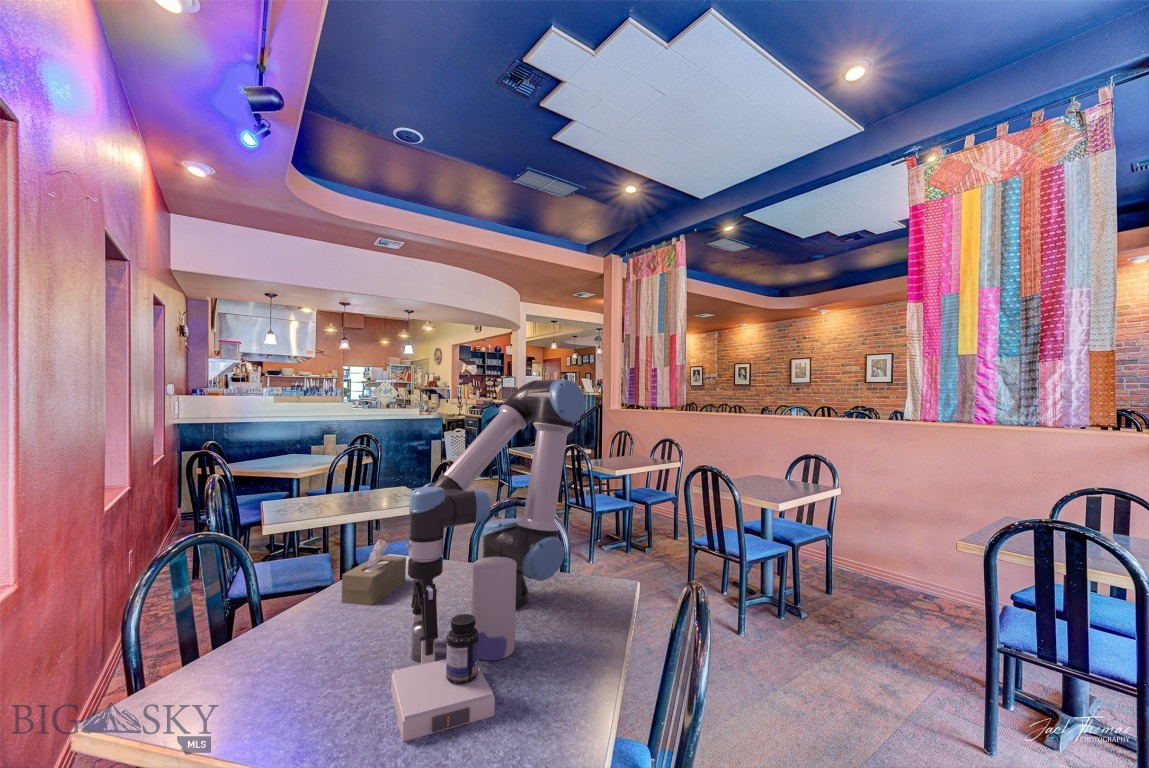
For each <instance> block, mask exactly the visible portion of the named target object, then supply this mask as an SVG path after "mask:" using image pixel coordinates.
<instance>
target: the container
mask: <svg viewBox="0 0 1149 768" xmlns="http://www.w3.org/2000/svg"><path fill="white" fill-rule="evenodd" d="M516 565H517V563H516V561H515V560H513V559H511V558H506V557H487V558H483V557H482V558H479V559H477V560H475V561H474V562H473V564H472V595H471V596H472V598H471V600H472V601H471V615H473V616H474V617H475V621H476V623H475V626H474V628H476V629H477V631H478V633H479V652H478V660H482V661H487V662H488V661H499V660H503V659H505V658H507V657H509V656H511V655H512V654H513V653H514V651H515V644H516V643H515V641H516V639H515V638H516V609H515V608H516Z"/></svg>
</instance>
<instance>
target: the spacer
mask: <svg viewBox="0 0 1149 768" xmlns="http://www.w3.org/2000/svg"><path fill="white" fill-rule="evenodd" d="M411 627H412V628H411V633H412V634H411V660H412V662H416V663H421V649H422V641H420V637H423V626H422V620H420V621H417V622H415V623H414V624H413V623H412V626H411Z"/></svg>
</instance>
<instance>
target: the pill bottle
mask: <svg viewBox="0 0 1149 768" xmlns="http://www.w3.org/2000/svg"><path fill="white" fill-rule="evenodd" d="M475 623H476V621H475V617H474V616H473V615H472V614H470V613H461V614H457V615H455V616H453V617H452V618H451V620H450V628H451V630H450V631H448V634H447V636H446V658H445V659H447V660H446V678H447V680H448V681H449V682H451V683H454V684H465V683H468V682H470V681H472V680H473V679H475V678H476V676H477V675H478V667H479V659H478V652H479V633H478V631H477V629H476V628H474V626H475Z"/></svg>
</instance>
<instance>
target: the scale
mask: <svg viewBox="0 0 1149 768" xmlns="http://www.w3.org/2000/svg"><path fill="white" fill-rule="evenodd" d="M446 660H447V659H446V658H444V659H440V660H436V661H435V662H431V663H426V664H422V665H421V664H418V665H414V666H409V667H405V668H404V667H403V668H400V669H399V668H398V669H394V670H393V671H392V673H391V686H390V687H391V689H390V692H391V697H392V701H393V704H394V705H393V706H394V709H395V713H396V719H397V724H398V728H399V732H400V736H401V741H402V743H405V742H408V741H412V740H415V739H418V738H421V737H425V736H426V737H427V736H429V735H431V734H432V735H433V734H435V733H439V732H443V731H446V730H449V729H453V728H456V727H460V726H463V725H466V724H467V725H468V724H471V723H474V722H478V721H481V720H485V719H488V718H492V717H495V704H496V702H495V701H496V700H495V699H496V697H495V695H494V692H493V690H492V688H491V687H490V685H489V683H488V681H487V679H486V677H485V675H484V674H483V673H482V670H481V669H480V667H479V666H478V675H477V676H476V678H475V679H473V680H472V681H470V682H468V683H465V684H454V683H451V682H449V681H448V680H447V678H446Z"/></svg>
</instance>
